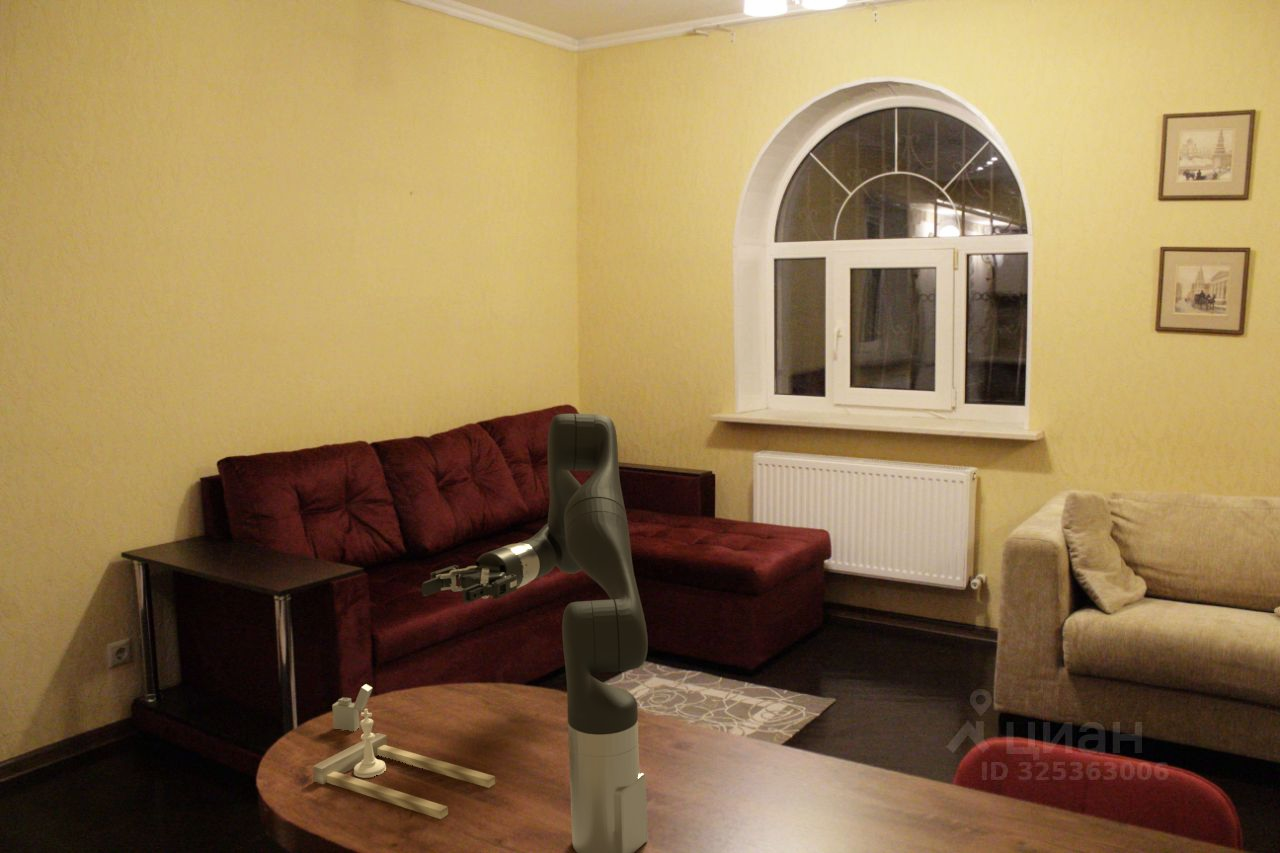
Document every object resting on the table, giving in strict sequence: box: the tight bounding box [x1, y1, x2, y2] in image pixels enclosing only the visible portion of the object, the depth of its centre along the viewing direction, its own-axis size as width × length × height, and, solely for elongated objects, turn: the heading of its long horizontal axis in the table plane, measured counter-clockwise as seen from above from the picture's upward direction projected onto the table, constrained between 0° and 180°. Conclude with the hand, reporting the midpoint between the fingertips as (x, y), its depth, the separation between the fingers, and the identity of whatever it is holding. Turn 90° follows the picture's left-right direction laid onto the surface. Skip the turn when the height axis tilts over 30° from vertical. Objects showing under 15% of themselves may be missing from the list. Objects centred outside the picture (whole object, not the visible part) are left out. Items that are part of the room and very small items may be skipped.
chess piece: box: [353, 708, 387, 779], centre depth 163 cm, size 5×5×10 cm
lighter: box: [332, 683, 373, 732], centre depth 178 cm, size 7×2×8 cm, turn 74°
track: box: [312, 732, 496, 820], centre depth 159 cm, size 25×14×2 cm, turn 58°
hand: (443, 593), depth 167 cm, fingers open, 8 cm apart
